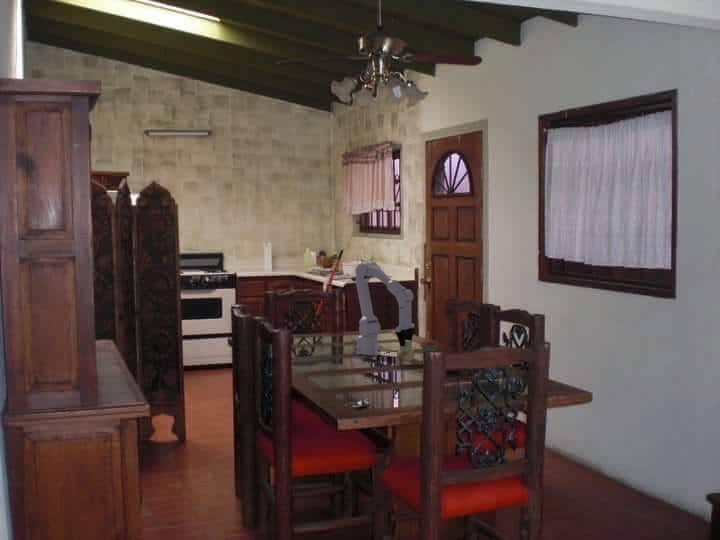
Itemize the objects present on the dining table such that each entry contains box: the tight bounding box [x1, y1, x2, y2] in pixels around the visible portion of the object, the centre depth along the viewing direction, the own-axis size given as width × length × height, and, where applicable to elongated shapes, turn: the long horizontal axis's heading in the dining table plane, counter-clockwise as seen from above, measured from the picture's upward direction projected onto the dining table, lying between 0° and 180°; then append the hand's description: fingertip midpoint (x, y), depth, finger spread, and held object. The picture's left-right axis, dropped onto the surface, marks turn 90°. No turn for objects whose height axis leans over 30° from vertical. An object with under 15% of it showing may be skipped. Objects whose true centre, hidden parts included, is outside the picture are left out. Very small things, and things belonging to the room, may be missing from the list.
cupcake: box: [419, 331, 439, 352], centre depth 374 cm, size 9×8×12 cm
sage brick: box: [399, 339, 413, 352], centre depth 362 cm, size 4×4×5 cm
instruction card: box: [376, 351, 398, 358], centre depth 375 cm, size 12×9×1 cm
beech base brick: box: [396, 350, 415, 362], centre depth 363 cm, size 6×6×4 cm
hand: (405, 345), depth 362 cm, fingers open, 5 cm apart
